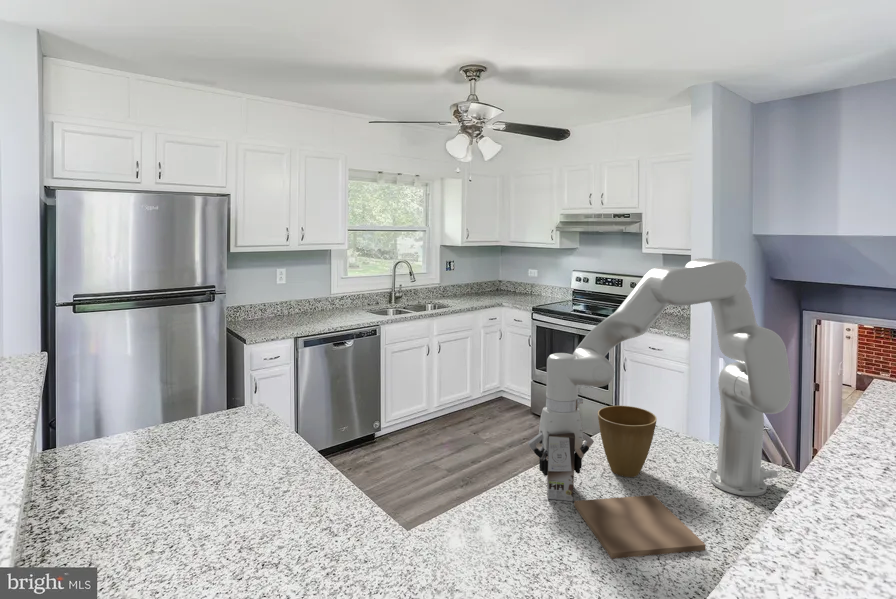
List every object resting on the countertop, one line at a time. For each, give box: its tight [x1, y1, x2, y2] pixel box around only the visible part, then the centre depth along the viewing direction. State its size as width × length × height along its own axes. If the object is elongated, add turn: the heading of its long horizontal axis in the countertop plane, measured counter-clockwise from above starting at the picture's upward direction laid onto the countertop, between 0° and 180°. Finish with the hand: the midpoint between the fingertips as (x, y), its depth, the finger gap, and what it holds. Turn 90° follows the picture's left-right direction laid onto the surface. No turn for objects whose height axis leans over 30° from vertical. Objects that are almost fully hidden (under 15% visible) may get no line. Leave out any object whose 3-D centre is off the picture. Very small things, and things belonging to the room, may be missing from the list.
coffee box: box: [546, 433, 575, 502], centre depth 125 cm, size 9×6×16 cm
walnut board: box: [573, 494, 707, 560], centre depth 111 cm, size 20×20×1 cm
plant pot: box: [597, 405, 658, 478], centre depth 136 cm, size 15×15×16 cm
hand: (560, 471), depth 126 cm, fingers closed on coffee box, 7 cm apart
